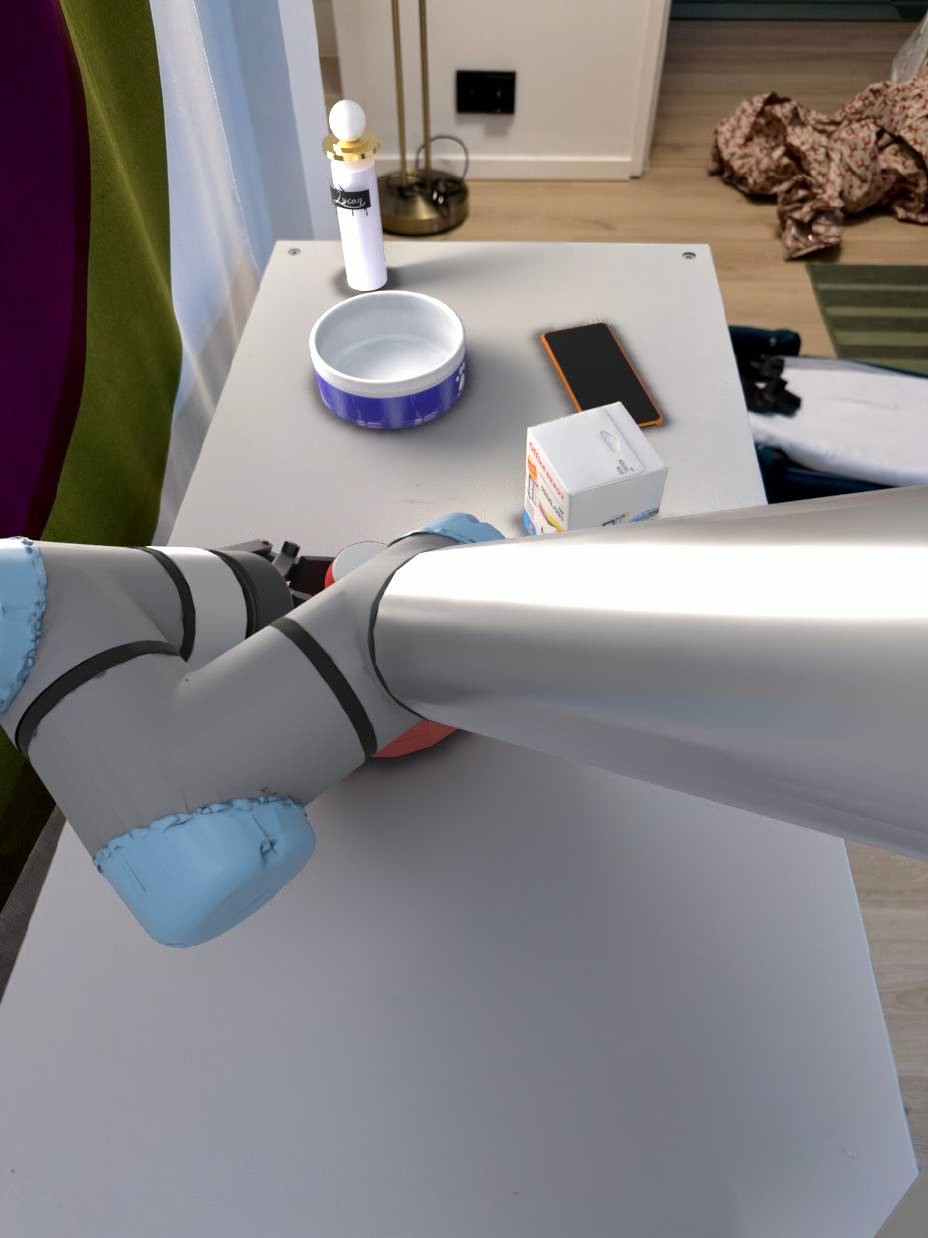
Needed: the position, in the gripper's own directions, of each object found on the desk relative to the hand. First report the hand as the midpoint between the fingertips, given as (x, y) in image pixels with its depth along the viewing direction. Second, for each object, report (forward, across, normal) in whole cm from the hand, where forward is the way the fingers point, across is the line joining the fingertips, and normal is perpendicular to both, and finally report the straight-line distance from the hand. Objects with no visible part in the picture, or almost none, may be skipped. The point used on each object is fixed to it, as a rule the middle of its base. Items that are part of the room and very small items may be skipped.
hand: (403, 608), depth 69 cm
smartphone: (+30, -5, +23) cm, 38 cm away
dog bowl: (+21, -22, +14) cm, 34 cm away
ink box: (+16, +6, +9) cm, 19 cm away
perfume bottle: (+30, -36, +22) cm, 52 cm away
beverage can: (+1, 0, -5) cm, 5 cm away
